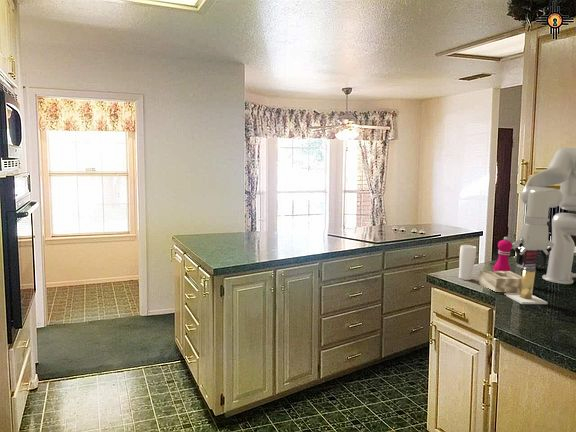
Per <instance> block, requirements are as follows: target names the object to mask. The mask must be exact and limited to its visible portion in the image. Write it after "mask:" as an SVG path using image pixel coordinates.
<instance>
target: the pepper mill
mask: <svg viewBox="0 0 576 432" xmlns="http://www.w3.org/2000/svg"><path fill="white" fill-rule="evenodd" d="M512 243H513V242H511V241H510V240H509V237H508V236H504V237H503V239H501V240H499V241H498V242H497V248H498V250H497V254H498V258H497V261H496V262H495V264H494V266H493V267H492V271H510V272H512V270H511V266H510V263H509V257H510V255H511V250H512V249H513V245H512Z"/></svg>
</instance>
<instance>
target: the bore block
mask: <svg viewBox="0 0 576 432" xmlns="http://www.w3.org/2000/svg"><path fill="white" fill-rule="evenodd" d="M478 279H479V280H478V285H479V284H480V285H479V286H481V285H482V286H481V287H483V286H484V287H483V288H485V287H486V288H485V289H487V288H489V289H491V290H493V291H495V292H506V293H520V287H521V279H522V275H519V274H518V273H514V272H513V271H511V272H510V271H493V270H479V277H478ZM489 289H488V290H489Z"/></svg>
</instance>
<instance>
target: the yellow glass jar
mask: <svg viewBox="0 0 576 432" xmlns="http://www.w3.org/2000/svg"><path fill="white" fill-rule="evenodd" d="M536 270H537V269H536V268H533V267H527V266H525V267H523V268H522V271H521V272H522V273H521V276H522V279H521V287H520V295H519V297H521V298H524V299H532V295H533V293H534V292H533V291H534V284H535V277H536Z"/></svg>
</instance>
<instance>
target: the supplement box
mask: <svg viewBox="0 0 576 432" xmlns="http://www.w3.org/2000/svg"><path fill="white" fill-rule="evenodd" d="M538 252H539V250H526V251H525V252H524V253H523V254H522V255H524V259H523V265H520V264H517V263H516V267H518V268H520V269H523V267H525V266H527V267H533V268H535V269H536V267H537V262H538V260H537V259H538Z"/></svg>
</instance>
